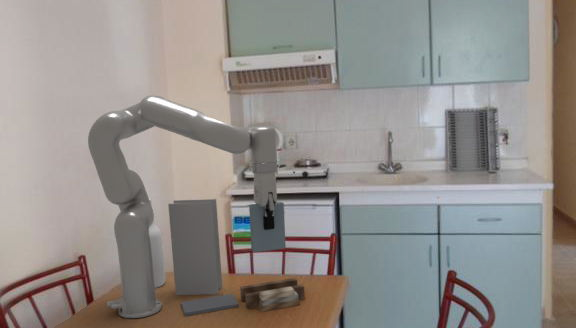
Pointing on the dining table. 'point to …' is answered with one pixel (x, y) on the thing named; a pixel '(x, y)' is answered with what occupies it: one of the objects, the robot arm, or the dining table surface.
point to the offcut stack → (277, 299)
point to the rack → (252, 291)
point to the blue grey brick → (267, 238)
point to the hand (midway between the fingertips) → (267, 227)
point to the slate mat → (209, 304)
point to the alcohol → (157, 254)
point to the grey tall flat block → (195, 247)
